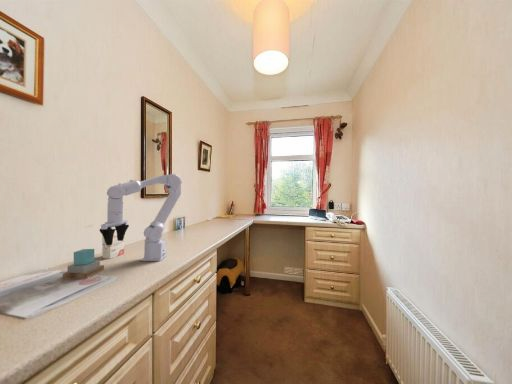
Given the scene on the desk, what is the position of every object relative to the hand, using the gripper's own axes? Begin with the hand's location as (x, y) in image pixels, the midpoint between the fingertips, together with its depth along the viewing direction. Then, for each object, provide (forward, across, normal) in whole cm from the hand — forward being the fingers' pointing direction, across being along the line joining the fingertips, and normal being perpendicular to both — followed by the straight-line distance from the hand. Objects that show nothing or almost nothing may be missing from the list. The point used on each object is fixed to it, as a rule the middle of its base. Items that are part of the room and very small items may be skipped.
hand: (114, 242), depth 91 cm
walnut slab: (+11, +9, -6) cm, 15 cm away
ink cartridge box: (+11, -14, -10) cm, 20 cm away
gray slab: (+9, +9, -6) cm, 14 cm away
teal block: (+6, +9, -6) cm, 12 cm away
